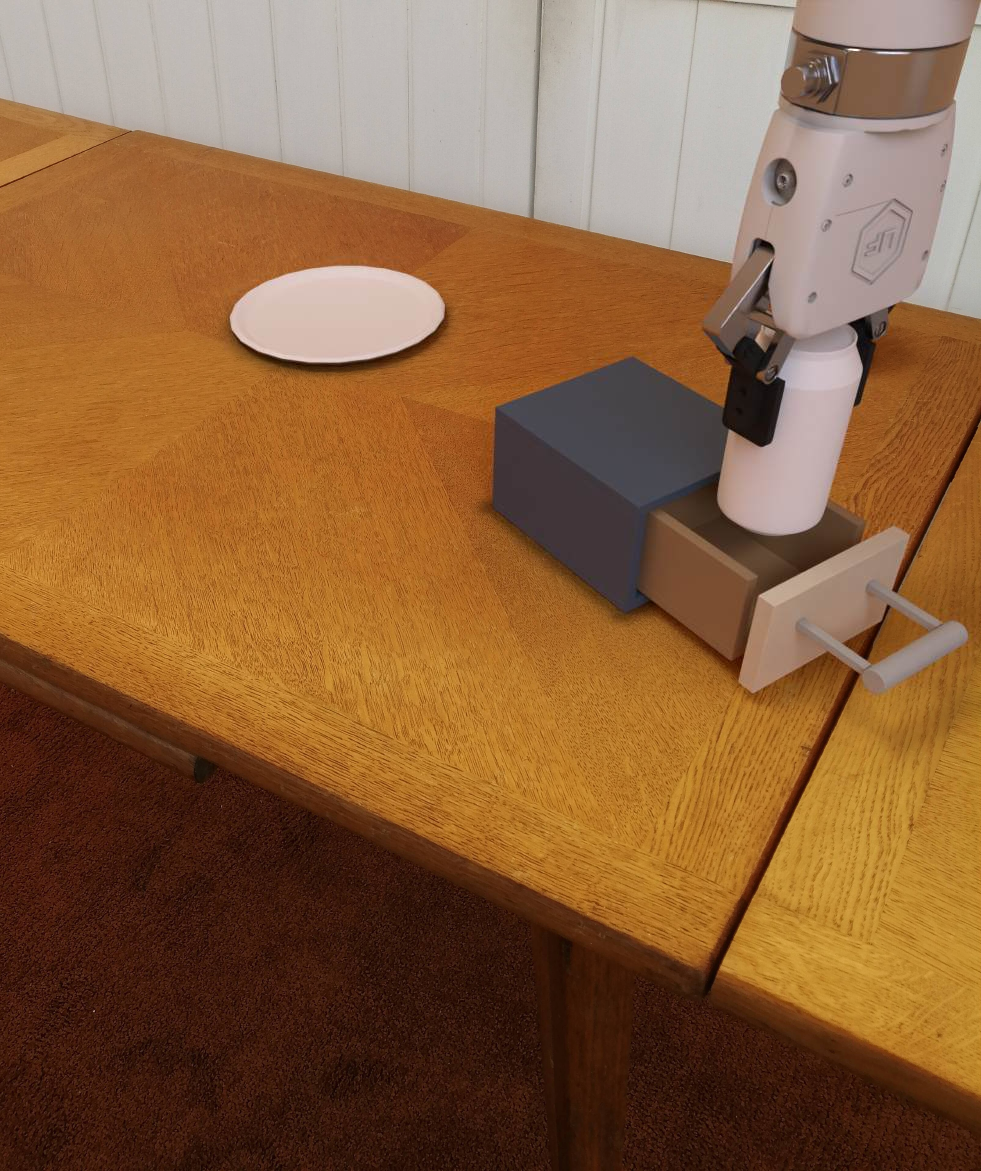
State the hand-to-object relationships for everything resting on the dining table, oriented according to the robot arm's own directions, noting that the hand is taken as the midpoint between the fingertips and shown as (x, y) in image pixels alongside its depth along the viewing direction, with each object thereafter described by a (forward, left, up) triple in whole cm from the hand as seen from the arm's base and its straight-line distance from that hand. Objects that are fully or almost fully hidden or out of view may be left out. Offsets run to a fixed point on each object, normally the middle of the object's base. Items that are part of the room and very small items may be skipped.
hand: (791, 413), depth 61 cm
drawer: (-2, 0, -14) cm, 14 cm away
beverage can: (0, 0, -7) cm, 7 cm away
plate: (+53, 0, -15) cm, 55 cm away
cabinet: (+12, 0, -15) cm, 19 cm away
